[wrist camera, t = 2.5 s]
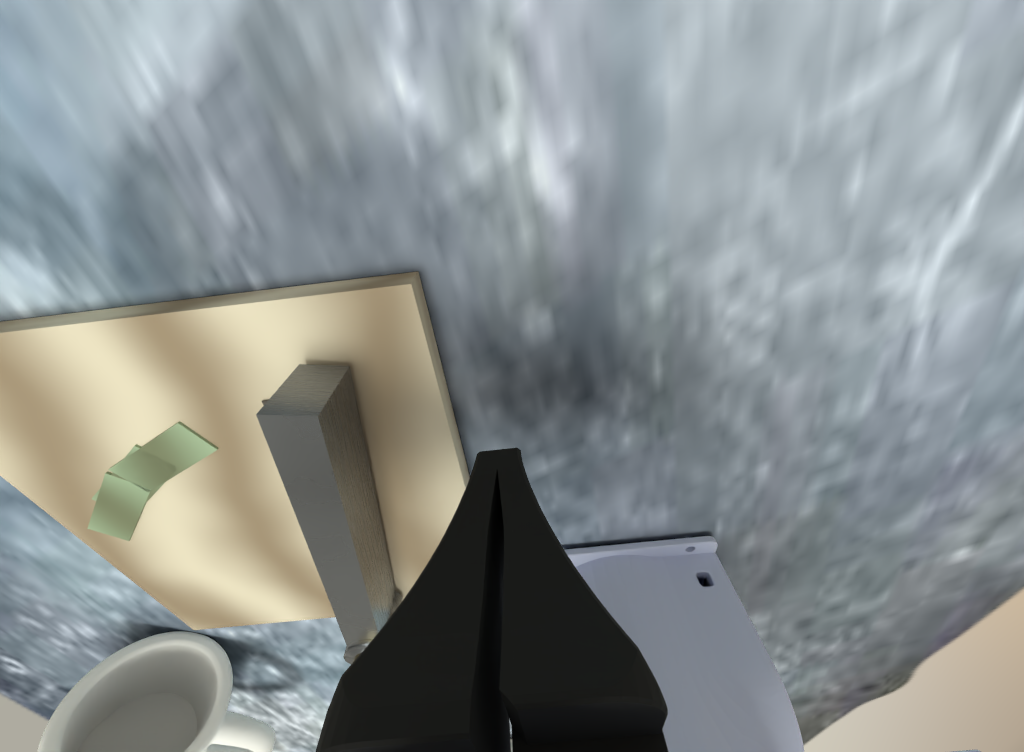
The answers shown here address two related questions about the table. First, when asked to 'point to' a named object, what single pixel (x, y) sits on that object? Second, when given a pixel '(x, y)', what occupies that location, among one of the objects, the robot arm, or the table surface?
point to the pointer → (333, 495)
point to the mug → (156, 703)
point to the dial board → (225, 437)
